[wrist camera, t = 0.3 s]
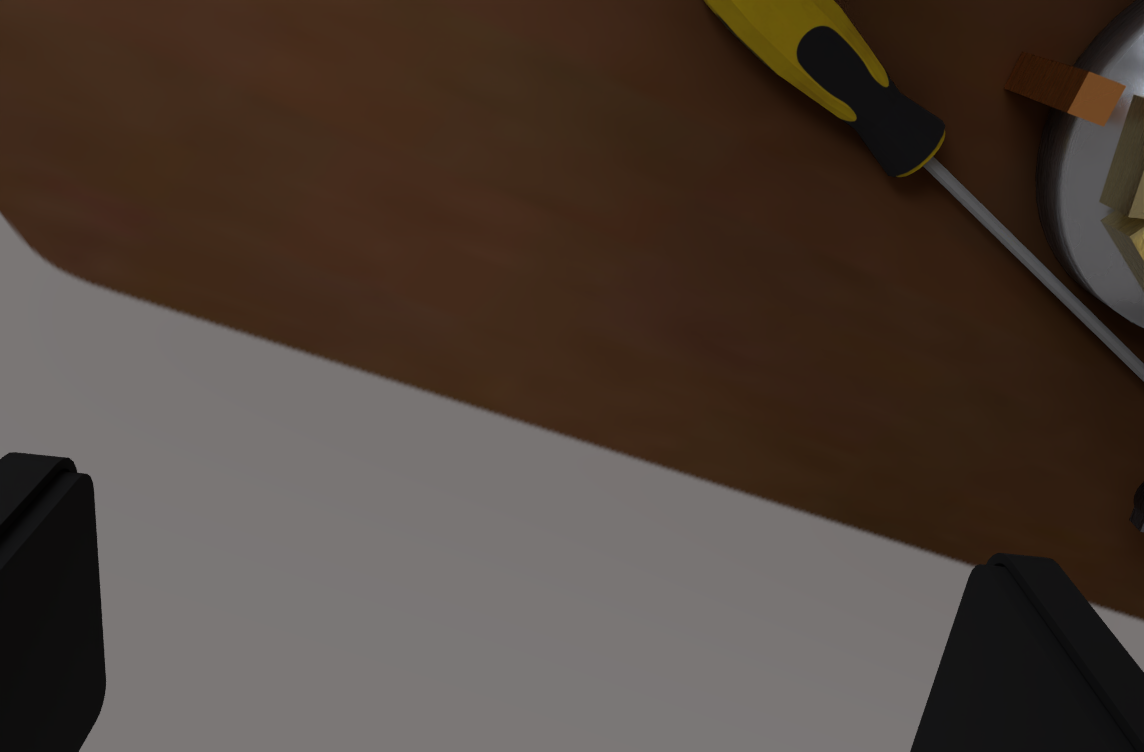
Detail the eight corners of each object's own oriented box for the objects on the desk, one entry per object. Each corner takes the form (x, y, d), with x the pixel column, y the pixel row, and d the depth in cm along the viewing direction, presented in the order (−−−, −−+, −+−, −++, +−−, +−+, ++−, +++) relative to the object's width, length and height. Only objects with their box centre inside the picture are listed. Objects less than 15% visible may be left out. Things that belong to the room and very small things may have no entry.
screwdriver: (691, -10, 40) (1155, 434, 48) (754, -84, 39) (1216, 384, 47) (680, -16, 43) (1118, 402, 51) (738, -85, 42) (1174, 354, 50)
